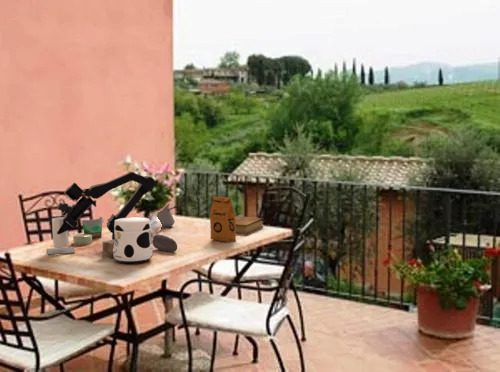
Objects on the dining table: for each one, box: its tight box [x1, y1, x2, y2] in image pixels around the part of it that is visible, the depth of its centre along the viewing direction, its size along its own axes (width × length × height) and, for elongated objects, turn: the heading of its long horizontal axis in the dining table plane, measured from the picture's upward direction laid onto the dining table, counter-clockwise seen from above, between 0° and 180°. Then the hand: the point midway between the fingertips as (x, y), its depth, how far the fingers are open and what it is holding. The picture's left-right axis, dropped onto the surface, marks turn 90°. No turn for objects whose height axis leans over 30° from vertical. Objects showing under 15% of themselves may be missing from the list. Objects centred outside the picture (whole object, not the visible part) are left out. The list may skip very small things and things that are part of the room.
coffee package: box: [209, 196, 237, 243], centre depth 319 cm, size 10×12×22 cm
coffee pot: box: [156, 201, 187, 229], centre depth 355 cm, size 21×12×15 cm, turn 57°
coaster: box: [46, 246, 76, 256], centre depth 298 cm, size 12×12×1 cm
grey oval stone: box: [152, 234, 178, 253], centre depth 298 cm, size 15×5×7 cm, turn 46°
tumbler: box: [51, 216, 70, 248], centre depth 297 cm, size 6×6×13 cm
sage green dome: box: [72, 233, 93, 246], centre depth 316 cm, size 9×9×4 cm
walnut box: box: [102, 239, 115, 260], centre depth 287 cm, size 6×6×7 cm
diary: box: [235, 215, 264, 235], centre depth 350 cm, size 23×19×6 cm
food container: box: [81, 216, 104, 240], centre depth 328 cm, size 12×6×10 cm, turn 143°
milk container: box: [113, 216, 154, 264], centre depth 278 cm, size 17×17×18 cm
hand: (57, 232), depth 296 cm, fingers closed on tumbler, 7 cm apart
